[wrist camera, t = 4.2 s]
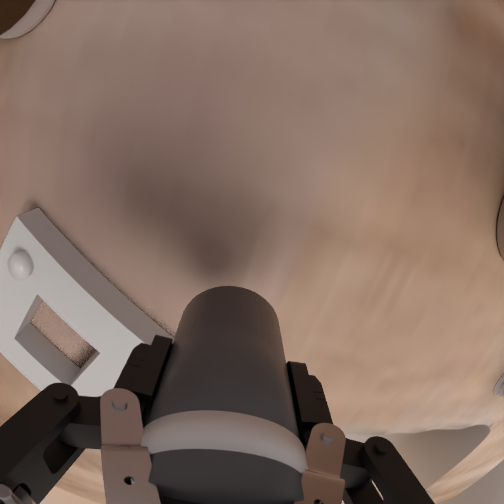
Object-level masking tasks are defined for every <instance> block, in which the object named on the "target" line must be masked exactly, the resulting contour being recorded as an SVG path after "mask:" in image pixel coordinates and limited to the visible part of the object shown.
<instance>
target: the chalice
mask: <svg viewBox="0 0 504 504" xmlns="http://www.w3.org/2000/svg"><path fill="white" fill-rule="evenodd" d="M494 393H495V394H499V395H500V396H503V397H504V374H503V376H502V377H501V378H500V379H499V381H498V382H497V384H496V386H495V389H494Z"/></svg>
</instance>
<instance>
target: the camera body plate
mask: <svg viewBox="0 0 504 504" xmlns="http://www.w3.org/2000/svg"><path fill="white" fill-rule="evenodd" d="M42 300H44V302H45V303H46V304H47V305H48V306H49V307H50V308H51V309H52V310H53V311H54V312H55V313H56V314H58V315H59V316H60V317H61V318H62V319H63V320H64V321H65V322H66V323H67V324H68V325H69V326H70V327H71V328H72V329H73V330H74V331H76V332H77V333H78V334H79V335H80V336H81V337H82V338H83V339H84V340H86V341H87V342H88V343H89V344H90V345H91V346H93V347H94V348H95V349H96V350H97V351H96V352H95V353H94V354H93V355H92V356H91V357H90V358H89V360H88V361H87V362H86V363H85V364H84V365H83V366H82V367H81V368H79V367H78V366H77V365H76V364H75V363H73V362H72V361H71V360H70V359H69V358H68V357H67V356H65V355H64V354H63V353H62V352H61V351H60V350H59V349H58V348H56V347H55V346H54V345H53V344H52V343H51V342H50V341H49V340H48V339H47V338H46V337H45V336H44V335H43V334H42V333H41V332H40V331H39V330H38V329H37V328H36V327H35V326H34V325H33V324H32V323H31V320H32V318H33V316H34V314H35V313H36V311H37V309H38V307H39V306H40V304H41V302H42ZM155 335H160V336H164V337H168V338H172V339H173V340H174V337H172V336H171V335H170V334H169V333H168V332H166V331H165V330H164V329H163V328H162V327H160V326H159V325H158V324H157V323H156V322H154V321H153V320H152V319H151V318H150V317H149V316H147V315H146V314H145V313H144V312H143V311H142V310H140V309H139V308H138V307H137V306H136V305H135V304H134V303H133V302H131V301H130V300H129V299H128V298H127V297H126V296H125V295H124V294H123V293H121V292H120V291H119V290H118V289H117V288H116V287H115V286H114V285H113V284H112V283H111V282H110V281H109V280H107V279H106V278H105V277H104V276H103V275H102V274H101V273H100V272H99V271H98V270H97V269H96V268H95V267H94V266H93V265H92V264H91V263H90V262H89V261H88V260H87V259H86V258H85V257H84V256H83V255H82V254H81V253H80V252H79V251H78V250H77V249H76V248H75V247H74V246H73V245H72V244H71V243H70V242H69V241H68V239H67V238H66V237H65V236H64V235H63V234H62V233H61V232H60V231H59V230H58V229H57V228H56V227H55V225H54V224H53V223H52V222H51V221H50V220H49V219H48V218H47V217H46V215H45V214H44V213H43V212H42V211H41V210H40V209H39V208H36V209H33V210H31V211H28V212H25V213H23V214H20V215H18V216H16V218H15V220H14V222H13V224H12V226H11V228H10V230H9V232H8V234H7V237H6V239H5V241H4V243H3V245H2V248H1V250H0V352H1V353H2V354H3V355H4V356H5V357H6V358H7V359H8V360H9V361H10V362H11V363H12V364H13V365H14V366H15V367H16V368H17V369H18V370H19V371H20V372H21V373H22V374H23V375H24V376H25V377H26V378H27V379H29V380H30V381H31V382H32V383H33V384H34V385H35V386H36V387H37V388H39V389H40V390H41V391H42V390H43V389H45V388H46V387H47V386H48V385H50V384H53V383H66V384H69V385H71V386H72V387H73V388H75V390H76V391H77V393H78V395H79V396H90V397H98V396H102V395H103V393H104V392H106V391H107V390H110V389H113V388H114V386H115V384H116V382H117V380H118V378H119V376H120V374H121V372H122V370H123V368H124V366H125V364H126V362H127V360H128V358H129V356H130V354H131V352H132V350H133V348H134V347H136V346H137V345H139V344H140V343H145V344H149V345H151V343H152V341H153V339H154V337H155ZM172 343H173V341H172Z"/></svg>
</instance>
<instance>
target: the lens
mask: <svg viewBox="0 0 504 504" xmlns="http://www.w3.org/2000/svg"><path fill="white" fill-rule="evenodd" d="M143 431H144V435H143V438H142V441H141V446H147V447H148V450H149V454H150V459H151V464H152V467H151V471H150V475H149V479H148V482H151V483H155V484H156V486H157V490H158V494H159V495H160V496H164V497H169V498H173V499H178V500H184V501H189V502H195V503H201V504H292V502H293V501H294V500H304V494H303V488H302V481H301V477H302V474H303V473H305V470H306V469H308V466H307V460H306V454H305V449H304V447H303V444H302V443H301V441H300V440H299V434H298V428H297V422H296V416H295V411H294V405H293V399H292V394H291V388H290V382H289V377H288V371H287V366H286V360H285V355H284V349H283V344H282V338H281V333H280V327H279V322H278V318H277V315H276V313H275V311H274V309H273V308H272V306H271V305H270V304H269V303H268V302H267V301H266V300H265V299H264V298H263V297H261V296H260V295H258V294H257V293H255V292H253V291H251V290H248V289H245V288H241V287H236V286H221V287H215V288H212V289H208V290H206V291H204V292H202V293H200V294H199V295H197V296H196V297H195V298H193V299H192V300H191V302H190V303H189V304H188V305H187V307H186V308H185V310H184V313H183V315H182V318H181V321H180V323H179V326H178V329H177V332H176V335H175V337H174V340H173V343H172V346H171V349H170V352H169V355H168V358H167V361H166V364H165V367H164V370H163V373H162V376H161V379H160V382H159V385H158V388H157V391H156V394H155V397H154V400H153V403H152V406H151V409H150V411H149V415H148V418H147V421H146V424H145V427H144V428H143Z"/></svg>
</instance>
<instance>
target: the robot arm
mask: <svg viewBox="0 0 504 504" xmlns="http://www.w3.org/2000/svg"><path fill="white" fill-rule="evenodd" d="M497 242H498V247H499V251H500V254H501V256H502V258H503V259H504V199H503V201H502V205H501V208H500V212H499V218H498V225H497ZM172 341H173V339H172V338H168V337H164V336H160V335H155V337H154V339H153V341H152V343H151V345H149V344H145V343H140V344H139V345H137V346H136V347H134V348H133V350H132V352H131V354H130V356H129V358H128V360H127V362H126V364H125V366H124V368H123V370H122V372H121V374H120V376H119V378H118V380H117V382H116V384H115V386H114V388H113V389H110V390H107V391H106V392H104V393H103V395H102V396H98V397H90V396H79V395H78V393H77V391H76V390H75V388H73V387H72V386H71V385H69V384H66V383H53V384H50V385H48V386H47V387H46V388H45V389H43V390H42V391H41V392H40V393H39V394H38V395H36V396H35V397H34V398H33V399H32V400H31V401H29V402H28V403H27V404H26V405H25V406H24V407H22V408H21V409H20V410H19V411H18V412H17V413H16V414H14V415H13V416H12V417H11V418H10V419H9V420H8V421H6V422H5V423H4V424H3V425H2V426H1V427H0V504H39V503H40V502H41V501H42V500H43V499H44V498H45V496H46V495H47V494H48V493H49V491H50V490H51V489H52V488H53V487H54V486H55V484H56V483H57V482H58V481H59V480H60V478H61V477H62V476H63V475H64V474H65V473H66V471H67V470H68V469H69V468H70V467H71V465H72V464H73V463H74V462H75V461H76V459H77V458H78V457H79V456H80V455H81V453H82V452H83V451H84V450H85V449H86V448H90V449H101V459H102V471H103V480H104V489H105V497H106V504H201V503H195V502H189V501H184V500H178V499H173V498H169V497H164V496H160V495H159V494H158V490H157V486H156V484H155V483H151V482H148V479H149V475H150V471H151V467H152V464H151V459H150V454H149V450H148V447H147V446H141V441H142V438H143V435H144V431H143V428H144V427H145V424H146V421H147V418H148V415H149V411H150V409H151V406H152V403H153V400H154V397H155V394H156V391H157V388H158V385H159V382H160V379H161V376H162V373H163V370H164V367H165V364H166V361H167V358H168V355H169V352H170V349H171V346H172ZM286 366H287V371H288V377H289V382H290V388H291V394H292V399H293V405H294V411H295V416H296V422H297V428H298V434H299V440H300V441H301V443H302V444H303V447H304V449H305V454H306V460H307V466H308V469H306V470H305V473H303V474H302V477H301V481H302V488H303V494H304V500H294V501H293V502H292V504H341V503H342V500H343V501H344V503H345V504H435V503H434V502H433V500H432V499H431V498H430V496H429V495H428V493H427V492H426V491H425V489H424V488H423V486H422V485H421V484H420V482H419V481H418V479H417V478H416V476H415V475H414V474H413V472H412V471H411V469H410V468H409V467H408V465H407V464H406V462H405V461H404V460H403V458H402V457H401V455H400V454H399V453H398V451H397V450H396V448H395V447H394V446H393V444H392V443H391V442H390V441H388V440H387V439H385V438H383V437H378V436H375V437H371V438H369V439H368V440H367V441H366V442H365V443H361V442H358V441H354V440H350V439H347V438H345V435H344V433H343V431H342V430H341V429H340V428H338V427H337V426H335V425H333V422H332V419H331V415H330V412H329V408H328V405H327V401H326V398H325V395H324V391H323V388H322V385H321V383H320V382H319V380H318V379H317V378H316V377H315V376H313V375H309V374H308V370H307V367H306V364H305V363H299V362H291V361H288V362H287V364H286ZM372 481H373V482H374V483H375V485H376V486H377V488H378V490H379V491H380V493H381V495H382V496H383V500H382V498H381V497H380V495H379V493H378V492H377V490H376V488H375V487H374V485H373V483H372Z"/></svg>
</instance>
